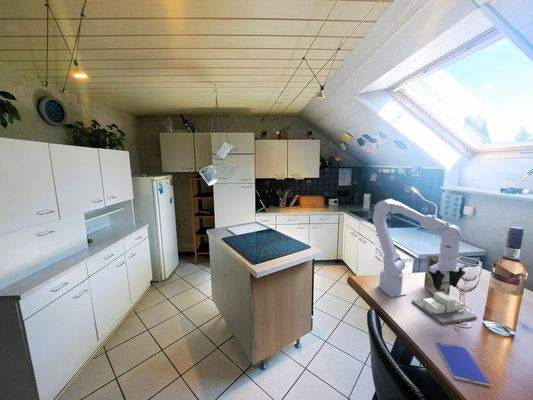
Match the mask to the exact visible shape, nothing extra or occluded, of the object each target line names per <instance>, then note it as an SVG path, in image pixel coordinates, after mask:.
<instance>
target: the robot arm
mask: <svg viewBox="0 0 533 400" xmlns="http://www.w3.org/2000/svg"><path fill="white" fill-rule="evenodd" d="M390 214H392V215H393V214H401V215H404V216H406V217H407V218H410V219H412V220H414V221H417V222H419V224H420V226H421V227H422V228H424V229H426V230H427V231H429V232H431V233H434V234H436V235H438V236H439V237H440V238H441V239H440V240H441V241H440V244H439V245H440V247H439V255H438V256H439V262H438V263H437V264H435V265H433V266H430V268H429V270H428V271H429V273H430V275H431V277H432V280H433V285H434V287H435V288H437V289H440V288H441V283H442V280H443V278H444V277H445V275H443V274H441V271H449V284H450V287H453V288H456V287H457V286H458V283H459V282H460V280H461V279H462V277H463V276H465V275H466V271H465V264H463V263H462V262H458V258H459V250H460V238H461V236H462V229H461V227H459V226H458V225H457V224H454V223H450V222H449V221H444V220H442V219H440V218H438V216H436V215H435V214H432V215H431V214H426V215H425V214H422V213H421V212H418V211H417V210H415V209H413V208H411V207H409V206H407V205H406V204H403V203H402V202H400V201H397V200H395V199H393V198H387V199H383V200H379V201H378V202H377V203H376V204H375V205H374V207H373V214H372V222H373V226H374V228H375V231H376V234H377V237H378V241H379V244H380V247H381V249H382V252H383V269H382V270H381V272H380V273H379V285H377V288H379V289H380V290H381V291H383V292H384V293H386V295H387V296H389V297H391V298H394V297H402V296H407V293H405V292H404V291H403V277H404V273H403V271H404V269H405V268H406V264H405V262H404V260H403V259H402V258H401V256H400V254H398V252H397V251H396V248H395V244H394V241H393V238H392V235H391V232H390V230H389V226H388V224H387V219H388V218H389V216H390Z"/></svg>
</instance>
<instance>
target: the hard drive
mask: <svg viewBox="0 0 533 400" xmlns="http://www.w3.org/2000/svg"><path fill="white" fill-rule="evenodd" d="M435 346H436V348H437V349H438V352H439V354H440V355H441V357H442V359H443V361H444V362H445V364H446V366H447V368H448V369H449V370H448V371H450V374H451V376H452V377H453V378H454V379H457V380H461V381H466V382H470V383H474V384H478V385H483V386H488V387H491V382H490V381H489V380H488V379H487V377H486V376H485V374H484V373H483V371H482V370H481V368H480V366H479V365H478V364H477V362H476V361H475V359H474V358H473V357H472V355H471V354H470V352H469V351H468V349H467V348H466V347H464V346H459V345H453V344H449V343H443V342H437V341H436V343H435Z"/></svg>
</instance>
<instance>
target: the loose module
mask: <svg viewBox="0 0 533 400" xmlns="http://www.w3.org/2000/svg"><path fill="white" fill-rule="evenodd" d="M433 297H434V298H433V299H434V300H436V301H437V302H439V303H440V304H442V305H443V306H445V312H446V313H448V312H454V308H455V299H456V298H455V299H453V298H454V297H453V298H451V297H449V296H448V295H446V294H444V293H442V292H436V293H434V295H433Z"/></svg>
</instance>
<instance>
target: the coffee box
mask: <svg viewBox="0 0 533 400" xmlns="http://www.w3.org/2000/svg"><path fill="white" fill-rule="evenodd" d="M425 260H426V261H425V272H424V273H425V275H424V284H423V285H424V288H425V289H426V290H428V291H429V293H431V294H432V295H433V296H434V293H436V292H442V293H444V294H446V295H450V289H451V285H450V284H449V271H441V274H443V275H445V277H444V278H443V280H442V283H441V288H440V289H437V288H435V287H434V285H433V280H432V277H431V275H430V273H429V271H428V270H429V268H430V266H433V265H435V264H437V263H438V262H439V255H426V259H425Z"/></svg>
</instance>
